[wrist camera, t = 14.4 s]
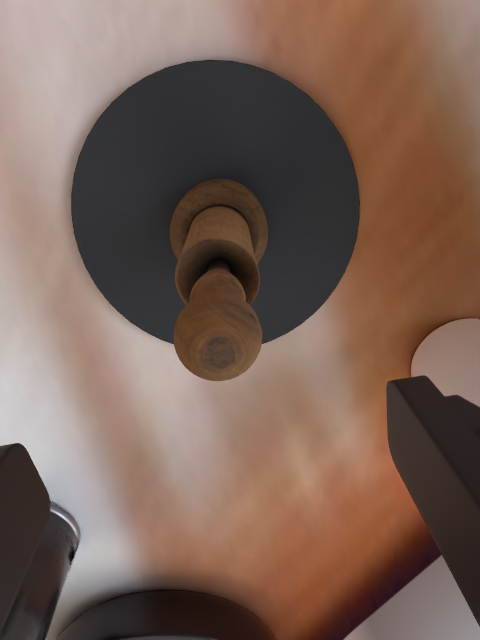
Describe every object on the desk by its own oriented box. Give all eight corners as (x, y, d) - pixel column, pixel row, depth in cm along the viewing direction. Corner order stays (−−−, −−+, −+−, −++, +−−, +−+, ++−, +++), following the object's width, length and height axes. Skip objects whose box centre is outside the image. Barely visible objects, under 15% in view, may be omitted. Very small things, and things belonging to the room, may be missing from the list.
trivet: (121, 364, 35) (119, 370, 34) (30, 93, 26) (24, 92, 26) (362, 324, 34) (365, 328, 33) (348, 33, 26) (352, 30, 25)
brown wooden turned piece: (179, 169, 28) (121, 233, 11) (275, 188, 28) (348, 274, 12) (167, 264, 30) (106, 427, 14) (254, 279, 31) (293, 449, 15)
